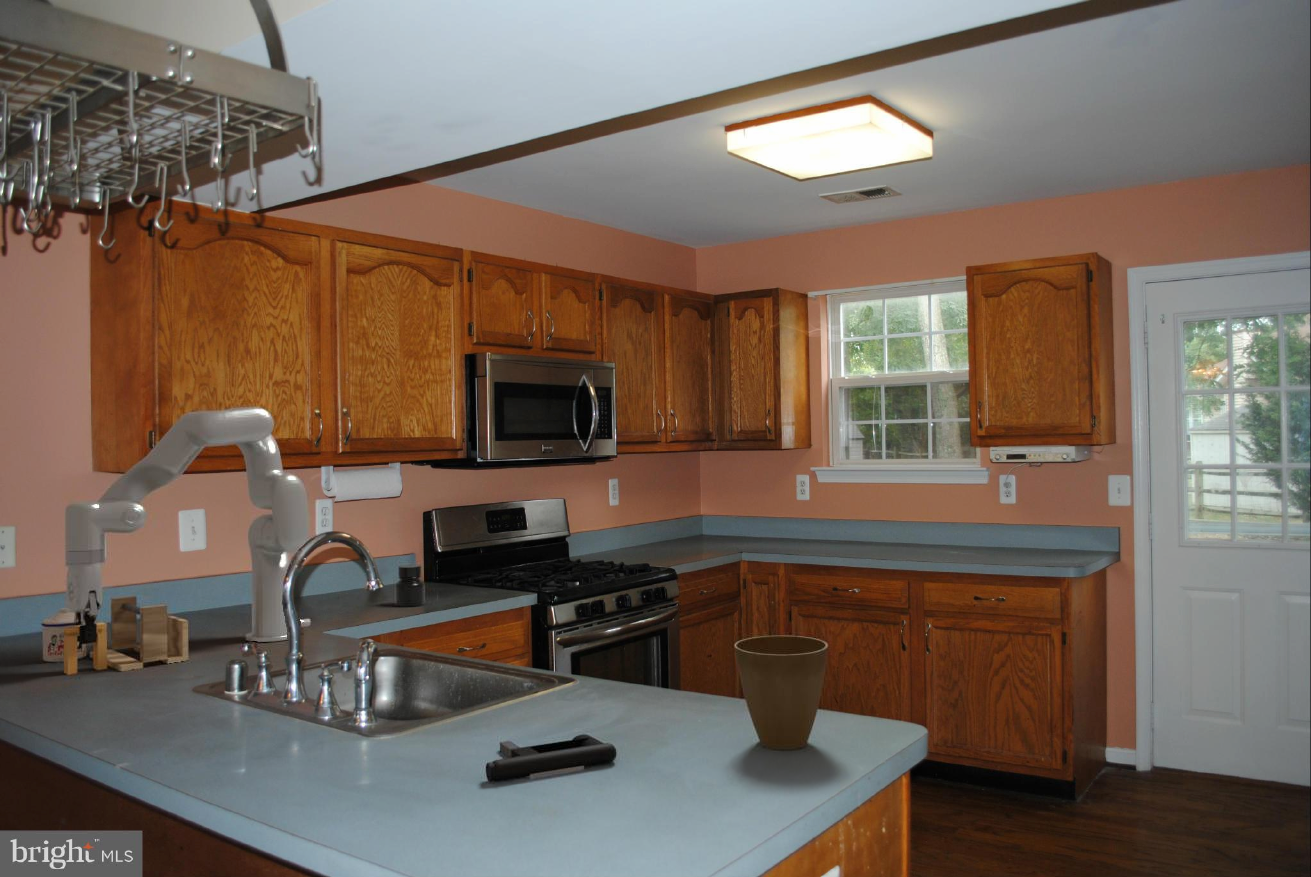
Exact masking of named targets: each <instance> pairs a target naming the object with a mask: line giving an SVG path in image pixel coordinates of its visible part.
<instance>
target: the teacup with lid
mask: <svg viewBox="0 0 1311 877" xmlns="http://www.w3.org/2000/svg"><path fill="white" fill-rule="evenodd" d="M40 624H41V626H42V660H43V661H44V662H47V663H61V662H63V663H64V627H68V626H74V624H76V623H75V622H74V611H70V609H68V608H66V607H61V608H59V612H57V613H54V614H53V615H51V616H50V617H48V618H45V619H43V620H42V621H41V623H40ZM92 645H93V646H94V643H88V644H80V642H77V660H80V659H83V658H84V657H86V656H87V647H88V646H92Z"/></svg>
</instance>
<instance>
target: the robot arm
mask: <svg viewBox="0 0 1311 877" xmlns="http://www.w3.org/2000/svg"><path fill="white" fill-rule="evenodd" d="M274 424H275V421H274V418H273V416H272V415H271V413H270V412H269V411H268V410H267V409H265V408H263V407H260V406H248V407H247V406H245V407H242V406H241V407H232V408H227V409H222V410H202V411H201V410H200V411H198V410H197V411H191V412H186V413H185V414H183V415H182V416H180V417H179V418H178V420H176V421H175V423H173V425H171V427H170V428H169V429H168V431H167V432H166V433H165V434H164V435H163V436H162V438H161V439H160V440H159V441H158V442H157V443H156V445H155V446H154V447H153V448H152V449H151V451H150V452H149V453H148V454H147V455H146V456H144V457H143V459H141V460H140V461H138V462H137V463H136V464H135V465H133V466H132V467H131V468H130V469H128V470H127V471H126V472H124V473H123V474H122V475H121V476H120V477H118V478H117V479H116V480H115V481H114V482H113V483H112V484H111V485H110V486H109V488H108V489H107V490H106V491H105V492H104V493H103V495H101V497H100V498H99V499H98V500H97V501H77V502H71V503H69V504H67V505H66V507H65V510H64V511H65V512H64V516H65V517H64V520H65V521H64V522H65V523H64V529H65V530H64V532H65V534H64V536H65V537H64V540H65V541H64V545H65V546H64V549H65V550H64V553H65V554H64V555H65V558H64V562H65V564H64V566H65V567H67V572H66V584H65V605H64V606H65V608H68V609H69V611H71V612H74V622H75V623H76V624H74V626H77V625H82V626H79V631H80V636H77V642H80V644H88V643H95V642H96V641H97V623H98V622H97V621H98V619H97V618H98V614H99V612H98V611H99V610H101V609H102V607H103V578H102V576H103V575H102V565H105V564H106V533H119V534H130V533H134V532H135V533H136V532H137V531H139V530H140V529H141V528H143V526H144V525H145V524H146V522H147V519H148V512H147V510H146V509H145V507H144V506H143V505H142V504H141V503H140V502H141V501H142V500H144V498H145V499H146V497H147V496H148V495H150V494H152V493H153V492H154V491H157V490H158V489H161V488H163V487H165V486H167V485H169V484H172V483H173V482H175V481H176V480H178V479H179V478H180V477H182V474H184V472H185V471H186V470H187V469H188V468H189V467H190V465H191V464H192V462H193V461H194V460H196V458H197V456H198V455H200V453H201V452H202V451H203V449H205V447H222V446H231V445H236V446H237V447H238V448H239V449H240V451H241V453H242V455H243V458H244V463H245V468H246V478H247V488H248V496H249V500H250V502H251V503H252V504H253V506H254V507H256V508H258V509H262V510H267V511H272V512H271V513H268V514H267V513H266V514H263V515H259V516H258V517H256V518H255V519H254V520H253V521H252V522H251V523H250V525H249V528H248V531H247V532H248V533H247V540H248V547H249V551H250V559H251V627H252V628H251V631H250V632H247V633H246V634H245V641H248V642H252V641H257V642H256V643H264V642H265V643H268V642H270V643H271V642H280V641H287V640H288V639H287V627H286V623H285V616H284V612H283V605H282V588H283V580H284V578H285V575H286V573H287V569H288V566H289V564H290V561H291V562H292V560H291V556H290V554H295V553H299V552H298V550H299V548H301V547H302V546H303V545H304V544H305V543H306V542H307V541H308V542H309V540H310V535H311V523H310V515H309V514H310V513H309V512H310V511H309V503H308V495H307V490H306V487H305V484H304V483H303V481H302V480H301V479H300V477H298V476H297V475H296V474H294V473H290V472H284V469H283V468H284V467H283V464H282V463H283V462H282V458H281V453H280V448H279V444H278V443H277V441H276V439H275V438H274V436H273V434H272V432H273V430H274V427H275V425H274ZM299 619H300V621H301V628H302V627H303V628H304V627H310V626H311V622H312V621H311V619H310V618H303V619H301V618H299Z"/></svg>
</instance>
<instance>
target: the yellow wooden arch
mask: <svg viewBox="0 0 1311 877" xmlns="http://www.w3.org/2000/svg"><path fill="white" fill-rule="evenodd" d="M79 626H82V625H77V626H68V627H64V661H63V673H64V674H66V675H67V676H69V675H75V674H78V659H77V636H80V631H79ZM107 630H108V624H107V623H106V622H103V621H101V622H97V641H96V642H95V643H94V644H93V651H94V659H93V669H95V670H97V671H101V670H107V669H108V665H107V649H108V644H107V643H108V634H107V633H108V631H107Z"/></svg>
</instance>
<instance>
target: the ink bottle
mask: <svg viewBox="0 0 1311 877" xmlns="http://www.w3.org/2000/svg"><path fill="white" fill-rule="evenodd" d="M421 577H422V566H421V564H420V565H419V564H406V565H398V579H399V580H398V581H397V582H396V583H395V586H394V603H395V604H394V605H395V606H396V607H403V608H406V607H418V606H419V607H420V606H423V605H425V599H426V598H425V594H426V591H425V590H426V589H425V588H426V587H425V583H424V581H422V580H421Z"/></svg>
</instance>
